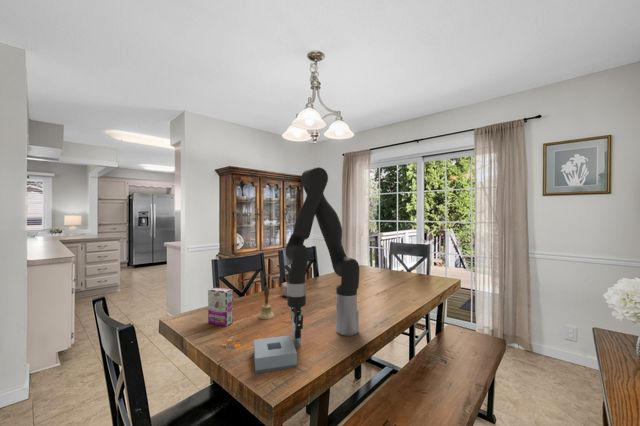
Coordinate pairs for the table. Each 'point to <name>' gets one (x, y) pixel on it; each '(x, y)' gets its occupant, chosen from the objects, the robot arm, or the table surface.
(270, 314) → the hand bell
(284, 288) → the food item
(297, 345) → the pin
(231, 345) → the key chain
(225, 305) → the candy bar box
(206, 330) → the table surface
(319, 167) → the robot arm
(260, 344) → the bore block
